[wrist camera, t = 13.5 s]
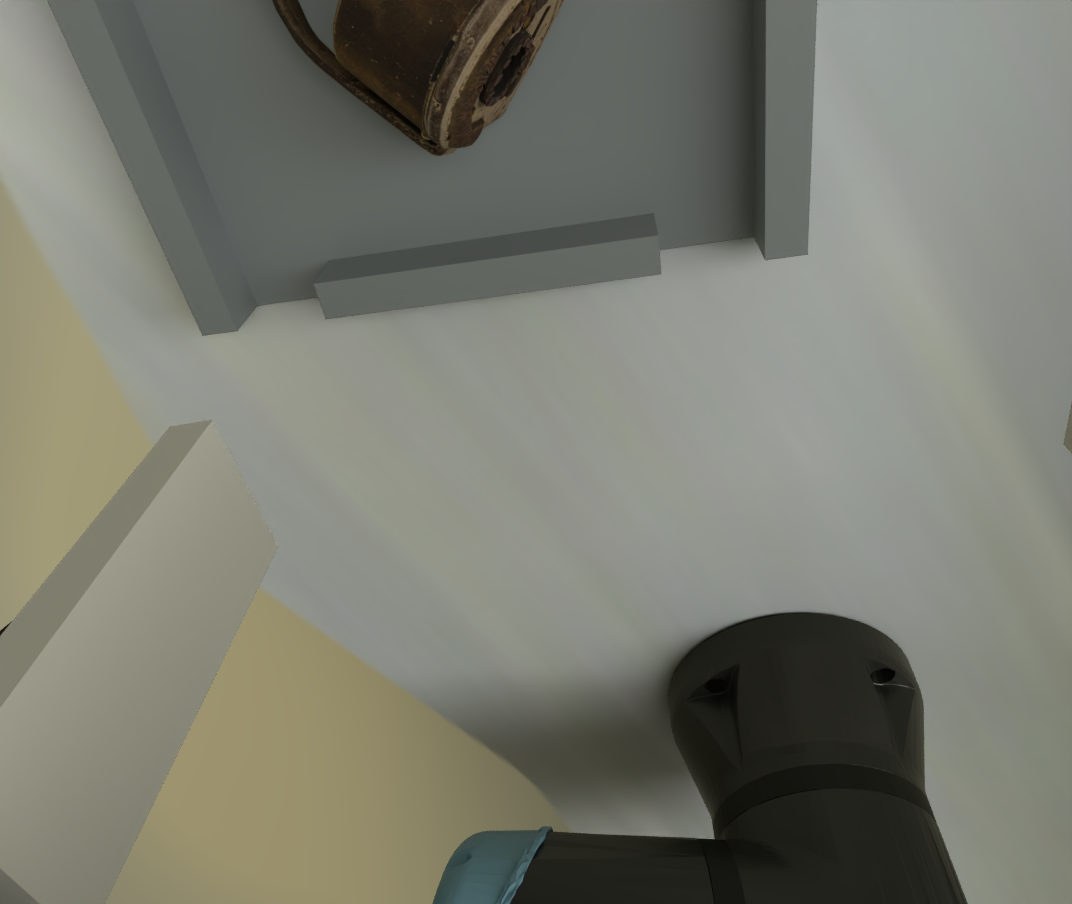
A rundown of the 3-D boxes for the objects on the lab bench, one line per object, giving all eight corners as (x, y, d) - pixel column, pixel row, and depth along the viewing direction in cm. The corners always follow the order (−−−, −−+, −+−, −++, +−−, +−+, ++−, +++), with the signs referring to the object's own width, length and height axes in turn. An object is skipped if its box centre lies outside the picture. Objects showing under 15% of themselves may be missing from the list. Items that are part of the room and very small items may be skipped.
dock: (791, 227, 32) (807, 254, 30) (227, 306, 36) (202, 335, 34) (809, -505, 21) (837, -554, 18) (-27, -284, 24) (-93, -301, 22)
